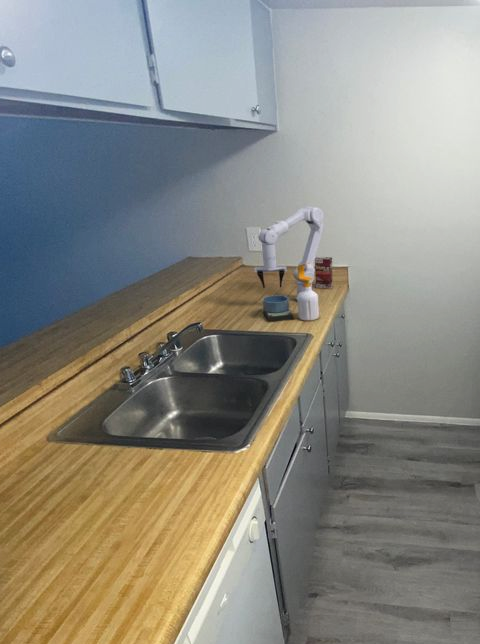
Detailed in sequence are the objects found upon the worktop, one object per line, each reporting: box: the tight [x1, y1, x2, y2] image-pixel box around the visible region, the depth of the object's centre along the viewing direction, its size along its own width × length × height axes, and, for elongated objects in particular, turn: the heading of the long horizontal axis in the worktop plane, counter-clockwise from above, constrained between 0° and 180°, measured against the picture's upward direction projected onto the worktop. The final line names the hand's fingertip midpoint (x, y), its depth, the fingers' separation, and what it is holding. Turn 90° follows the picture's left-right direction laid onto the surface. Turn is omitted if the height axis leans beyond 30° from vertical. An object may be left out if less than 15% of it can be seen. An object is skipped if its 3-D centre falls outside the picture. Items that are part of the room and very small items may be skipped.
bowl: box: [262, 294, 290, 313], centre depth 213 cm, size 11×11×5 cm
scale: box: [262, 308, 294, 323], centre depth 214 cm, size 13×11×3 cm
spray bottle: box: [296, 262, 320, 322], centre depth 207 cm, size 9×9×25 cm
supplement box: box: [314, 256, 334, 290], centre depth 253 cm, size 9×5×16 cm, turn 81°
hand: (272, 287), depth 221 cm, fingers open, 7 cm apart
